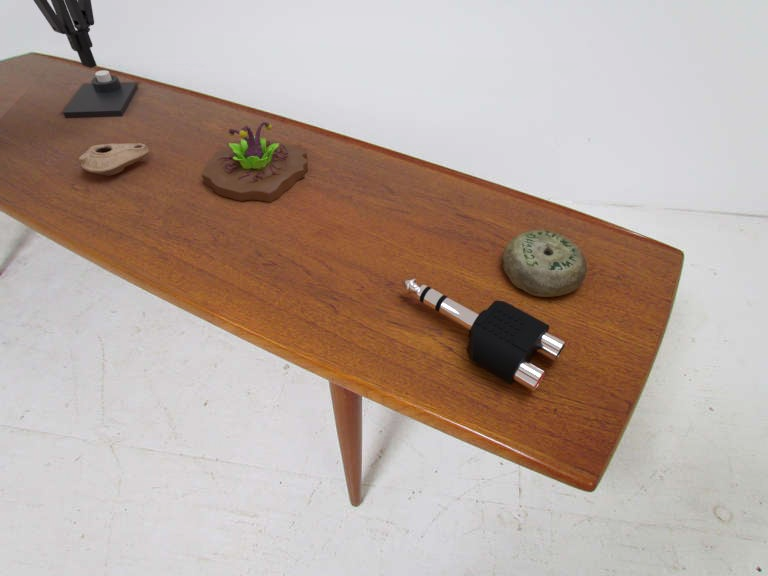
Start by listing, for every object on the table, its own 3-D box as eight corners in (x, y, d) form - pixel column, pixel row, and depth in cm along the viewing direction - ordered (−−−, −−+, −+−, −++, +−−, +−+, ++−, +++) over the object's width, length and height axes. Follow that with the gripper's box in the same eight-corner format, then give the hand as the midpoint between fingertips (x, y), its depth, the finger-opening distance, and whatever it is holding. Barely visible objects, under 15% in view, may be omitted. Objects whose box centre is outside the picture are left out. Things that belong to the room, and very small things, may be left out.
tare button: (96, 83, 124) (93, 75, 123) (100, 78, 127) (97, 70, 125) (110, 83, 125) (106, 75, 123) (113, 78, 127) (110, 70, 126)
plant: (187, 190, 98) (171, 138, 90) (236, 143, 111) (226, 94, 103) (280, 210, 94) (271, 157, 86) (320, 158, 107) (315, 108, 99)
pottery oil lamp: (157, 168, 103) (135, 149, 96) (105, 194, 103) (80, 177, 96) (145, 136, 106) (124, 116, 99) (95, 162, 106) (70, 143, 99)
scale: (65, 118, 118) (58, 104, 115) (87, 88, 129) (81, 75, 127) (122, 116, 119) (117, 102, 117) (138, 87, 131) (134, 73, 128)
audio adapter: (536, 380, 61) (379, 287, 72) (526, 403, 65) (379, 312, 76) (573, 328, 67) (424, 250, 78) (562, 352, 71) (421, 274, 82)
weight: (570, 312, 77) (580, 290, 73) (488, 282, 81) (493, 259, 78) (590, 261, 85) (600, 239, 82) (515, 236, 90) (521, 213, 86)
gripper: (57, -80, 93) (105, 52, 110) (-14, -68, 85) (49, 71, 102) (82, -75, 90) (127, 59, 107) (12, -63, 83) (72, 80, 99)
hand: (89, 65), depth 105 cm, fingers closed
